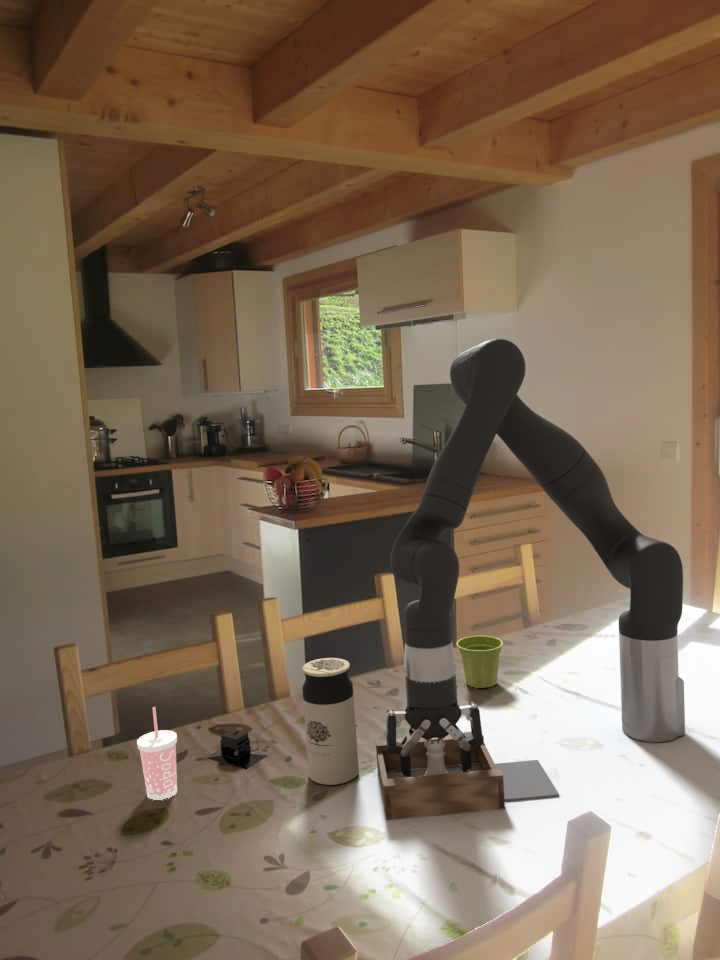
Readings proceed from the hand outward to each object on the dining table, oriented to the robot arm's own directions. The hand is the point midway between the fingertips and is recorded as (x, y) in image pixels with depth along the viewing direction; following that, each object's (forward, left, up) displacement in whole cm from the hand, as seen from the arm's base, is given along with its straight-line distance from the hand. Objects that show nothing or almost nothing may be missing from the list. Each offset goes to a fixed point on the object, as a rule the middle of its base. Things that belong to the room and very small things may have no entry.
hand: (436, 774), depth 118 cm
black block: (+32, -17, -3) cm, 36 cm away
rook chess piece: (0, 0, -2) cm, 2 cm away
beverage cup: (+42, -7, -2) cm, 43 cm away
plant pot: (-16, -41, -2) cm, 43 cm away
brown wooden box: (0, 0, -2) cm, 2 cm away
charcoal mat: (-13, 0, -2) cm, 13 cm away
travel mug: (+15, -8, -2) cm, 17 cm away
